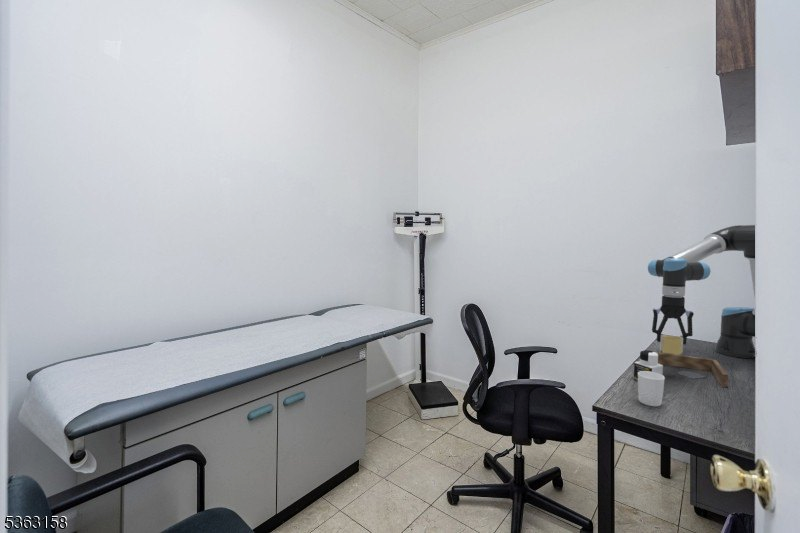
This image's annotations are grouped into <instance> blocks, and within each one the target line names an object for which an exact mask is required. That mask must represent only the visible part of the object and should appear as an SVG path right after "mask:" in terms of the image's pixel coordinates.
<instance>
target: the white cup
mask: <svg viewBox="0 0 800 533" xmlns="http://www.w3.org/2000/svg"><path fill="white" fill-rule="evenodd" d="M665 381H666V378H665V376H664V375H663V374H662V375H661V374H658V373H655V372H650V371H640V372H638V380H637V393H638V398H637V399H638V401H639V403H640V404H641V403H642V404H643V405H646V406H650V407H660V406H662V400H663V397H664V387H665Z"/></svg>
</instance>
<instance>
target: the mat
mask: <svg viewBox="0 0 800 533" xmlns="http://www.w3.org/2000/svg"><path fill="white" fill-rule="evenodd" d="M674 373H675V374H678V375H680V376H682V377H685V378H689V379H691V380H698V379H703V378H706V376H705V375H702V374H699V373H696V372H693V371H691V370H683V371H677V372H674Z"/></svg>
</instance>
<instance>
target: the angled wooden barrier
mask: <svg viewBox="0 0 800 533" xmlns="http://www.w3.org/2000/svg"><path fill="white" fill-rule="evenodd" d="M655 352H656V353H657V354H658V364H661V365H663V366H670V367H677V368H678V367H679V368H683V369H692V370H700V371H706V372H711V373H712V375H713V376H714V377H715V379H716V380H717V381H718V383H719V385H720V386H721V387H722V388H728V382H729V374H728V373H727V372H726V371H725V369H724V368H723V367H722V365H721V364H720V363H719V361H718V360H717V359H714V358H707V357H706V358H705V357H697V356H689V355H682V354H681V355H678V354H667V353H660V351H659V352H658V351H655Z"/></svg>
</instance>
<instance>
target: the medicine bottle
mask: <svg viewBox="0 0 800 533" xmlns="http://www.w3.org/2000/svg"><path fill="white" fill-rule="evenodd" d="M656 352H657V351H653V350H646V349H645V350H642V351H640V352H639V360H638V361H635V362H634V366H633V379H634V378H635V380H637V381H638V372H640V371H650V372H655V373H658V374H661V375H663V372H664V365H662V364H658V354H657V353H656Z"/></svg>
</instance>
